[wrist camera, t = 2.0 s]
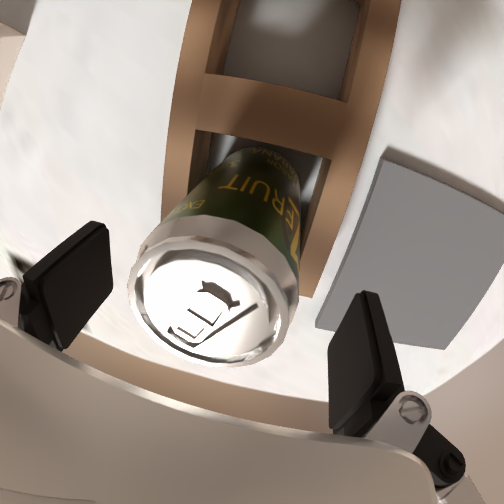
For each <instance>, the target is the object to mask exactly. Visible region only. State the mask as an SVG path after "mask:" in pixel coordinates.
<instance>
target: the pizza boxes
mask: <svg viewBox="0 0 504 504" xmlns="http://www.w3.org/2000/svg"><path fill="white" fill-rule="evenodd" d="M25 37H26V36H25V35H23V34H22V33H20V32H18V31H16V30H14V29H12V28H11V27H9V26H7V25H5V24H3V23H1V22H0V109H1V106H2V102H3V98H4V95H5V91H6V88H7V85H8V82H9V79H10V76H11V73H12V70H13V67H14V65H15V62H16V59H17V57H18V54H19V52H20V49H21V47H22V44H23V42H24V40H25Z"/></svg>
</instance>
